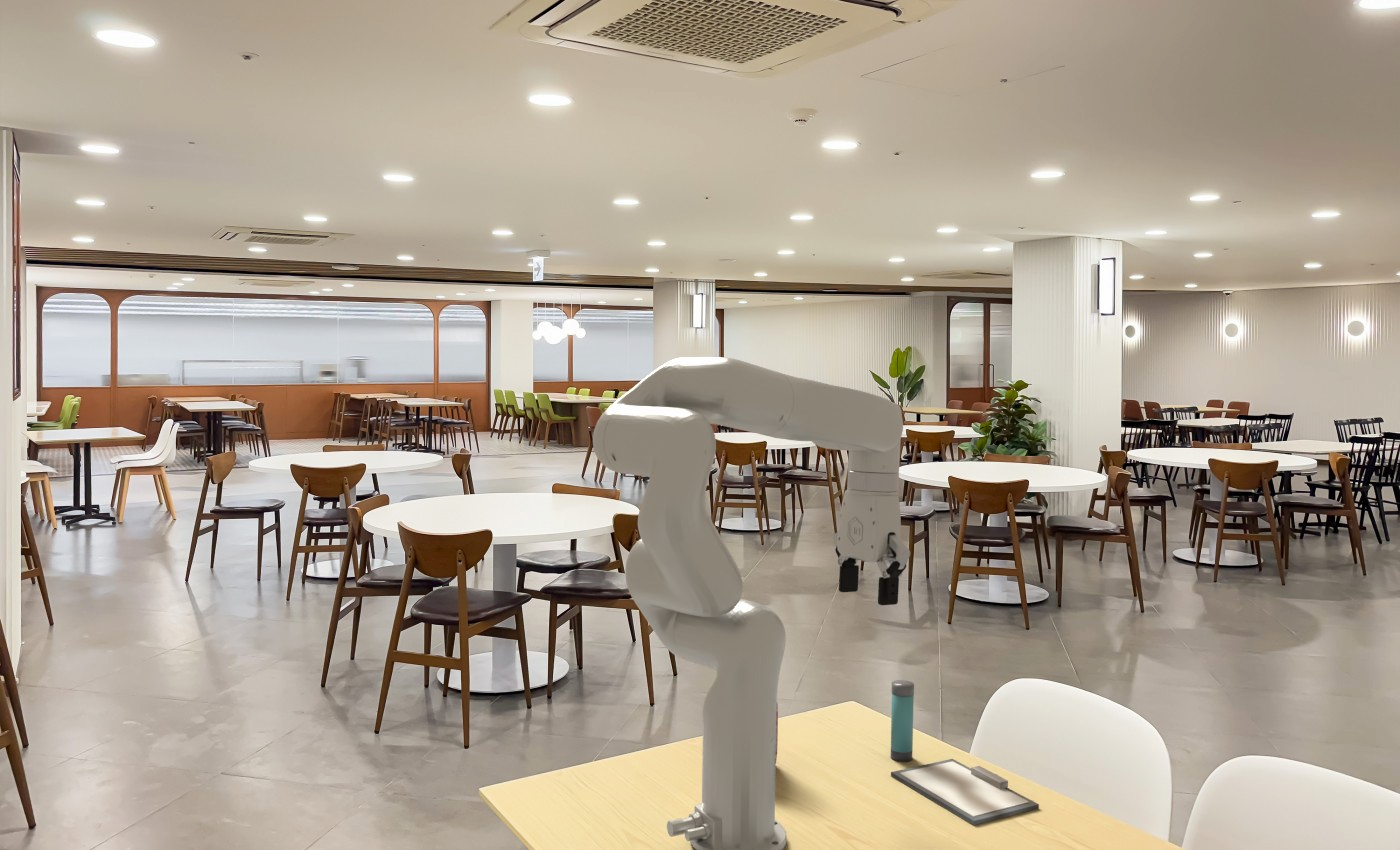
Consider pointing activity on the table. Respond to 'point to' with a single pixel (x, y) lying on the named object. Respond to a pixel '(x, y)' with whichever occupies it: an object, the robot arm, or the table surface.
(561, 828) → the table surface
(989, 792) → the clipboard
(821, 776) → the table surface
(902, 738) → the marker
